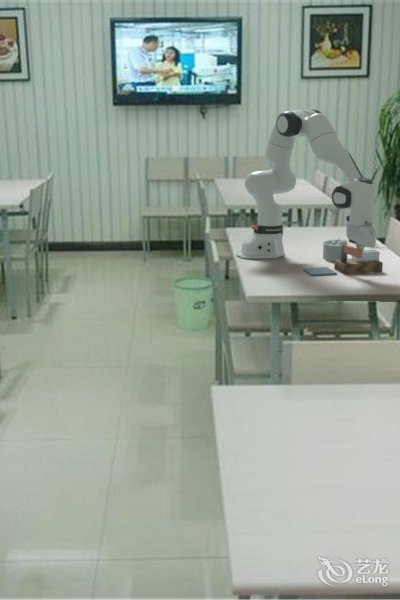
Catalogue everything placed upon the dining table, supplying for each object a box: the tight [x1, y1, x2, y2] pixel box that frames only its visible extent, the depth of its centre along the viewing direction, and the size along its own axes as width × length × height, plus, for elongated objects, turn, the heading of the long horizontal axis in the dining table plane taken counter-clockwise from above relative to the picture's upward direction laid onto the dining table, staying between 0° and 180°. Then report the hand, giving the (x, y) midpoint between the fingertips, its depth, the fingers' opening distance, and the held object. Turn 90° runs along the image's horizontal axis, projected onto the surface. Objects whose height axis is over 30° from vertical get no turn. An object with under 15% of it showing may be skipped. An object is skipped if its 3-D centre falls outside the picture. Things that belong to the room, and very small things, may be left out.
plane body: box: [333, 258, 384, 275], centre depth 288 cm, size 17×10×4 cm, turn 100°
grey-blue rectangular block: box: [351, 249, 380, 263], centre depth 288 cm, size 10×5×4 cm, turn 100°
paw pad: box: [322, 238, 349, 263], centre depth 311 cm, size 10×13×9 cm
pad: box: [302, 266, 338, 277], centre depth 286 cm, size 11×11×1 cm
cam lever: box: [341, 243, 362, 262], centre depth 280 cm, size 15×2×7 cm, turn 16°
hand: (359, 253), depth 276 cm, fingers closed, pressing on cam lever
